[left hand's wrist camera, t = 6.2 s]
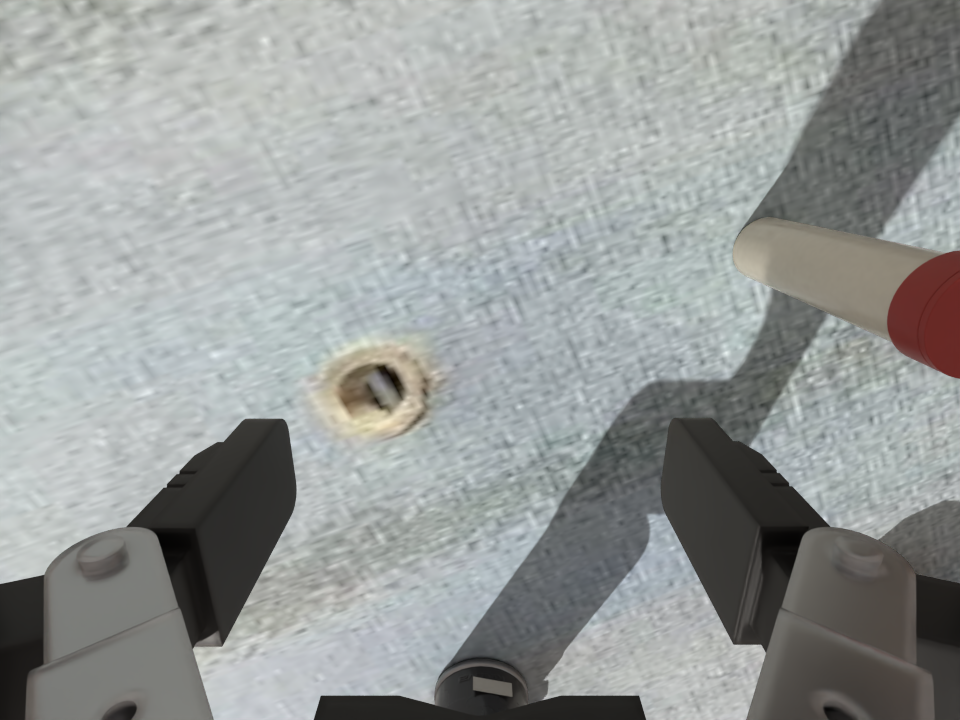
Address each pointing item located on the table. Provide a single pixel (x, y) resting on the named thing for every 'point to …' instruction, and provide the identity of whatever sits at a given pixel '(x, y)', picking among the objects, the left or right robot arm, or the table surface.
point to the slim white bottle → (828, 268)
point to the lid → (929, 314)
